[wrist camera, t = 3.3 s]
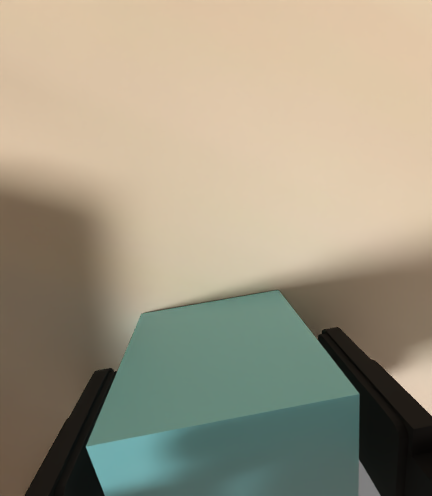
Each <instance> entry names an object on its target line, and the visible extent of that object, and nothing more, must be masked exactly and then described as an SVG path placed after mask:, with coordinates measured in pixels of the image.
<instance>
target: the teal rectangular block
mask: <svg viewBox="0 0 432 496" xmlns="http://www.w3.org/2000/svg"><path fill="white" fill-rule="evenodd" d="M359 396H360V394H359V393H358V391H357V390H356V389H355V387H354V386H353V385H352V384H351V382H350V381H349V380H348V378H347V377H346V376H345V375H344V373H343V372H342V371H341V369H340V368H339V367H338V366H337V364H336V363H335V362H334V360H333V359H332V358H331V357H330V355H329V354H328V353H327V351H326V350H325V349H324V348H323V346H322V345H321V344H320V342H319V341H318V340H317V339H316V337H315V336H314V335H313V333H312V332H311V331H310V330H309V328H308V327H307V326H306V325H305V323H304V322H303V321H302V319H301V318H300V317H299V316H298V314H297V313H296V312H295V310H294V309H293V308H292V307H291V305H290V304H289V303H288V301H287V300H286V299H285V298H284V296H283V295H282V294H281V292H280V291H279V290H275V291H269V292H263V293H258V294H252V295H246V296H240V297H235V298H229V299H223V300H217V301H212V302H206V303H200V304H194V305H189V306H183V307H177V308H171V309H166V310H160V311H154V312H148V313H143V314H141V316H140V318H139V321H138V323H137V326H136V328H135V330H134V333H133V335H132V337H131V340H130V342H129V345H128V347H127V349H126V352H125V354H124V357H123V359H122V361H121V364H120V366H119V369H118V371H117V373H116V376H115V378H114V380H113V383H112V385H111V388H110V390H109V392H108V395H107V397H106V400H105V402H104V404H103V407H102V409H101V412H100V414H99V416H98V419H97V421H96V423H95V426H94V428H93V431H92V433H91V435H90V438H89V440H88V443H87V445H86V449H87V451H88V454H89V456H90V459H91V461H92V464H93V466H94V469H95V472H96V474H97V477H98V479H99V482H100V484H101V487H102V490H103V492H104V495H105V496H358V488H359Z"/></svg>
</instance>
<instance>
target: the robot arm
mask: <svg viewBox="0 0 432 496" xmlns="http://www.w3.org/2000/svg"><path fill="white" fill-rule="evenodd" d="M318 341H319V342H320V344H321V345H322V346H323V348H324V349H325V350H326V351H327V353H328V354H329V355H330V357H331V358H332V359H333V360H334V362H335V363H336V364H337V366H338V367H339V368H340V369H341V371H342V372H343V373H344V375H345V376H346V377H347V378H348V380H349V381H350V382H351V384H352V385H353V386H354V387H355V389H356V390H357V391H358V393H359V394H360V396H359V460H360V462H361V463H362V465H363V467H364V468H365V470H366V472H367V474H368V475H369V477H370V479H371V480H372V482H373V484H374V485H375V487H376V489H377V490H378V492H379V494H380V495H381V496H432V416H431V415H430V414H429V413H428V412H427V411H426V410H425V409H424V408H423V407H422V406H421V405H420V404H419V403H418V402H417V401H416V400H415V399H414V398H413V397H412V396H411V395H410V394H409V393H408V392H407V391H406V390H405V389H404V388H403V387H402V386H401V385H400V384H399V383H398V382H397V381H396V380H395V379H394V378H393V377H392V376H391V375H389V374H388V373H387V372H386V371H385V370H384V369H383V368H382V367H381V366H380V365H379V364H378V363H377V362H376V361H374V360H372V359H370V358H369V357H368V356H367V355H366V354H365V353H364V352H363V351H362V350H361V349H360V348H359V347H358V346H357V345H356V344H355V343H354V342H353V341H352V340H351V339H350V338H349V337H348V336H347V335H346V334H345V333H344V332H343V331H342V330H341V329H340V328H338V327H335V328H330V329H324V330H323V331H322V334H319V336H318ZM116 373H117V371H115V372H114V370H113V369H112V368H109V369H103V370H98V371H95V372H94V373H93V375H92V377H91V379H90V380H89V382H88V384H87V386H86V388H85V390H84V391H83V393H82V395H81V397H80V399H79V401H78V402H77V404H76V406H75V408H74V410H73V412H72V413H71V415H70V417H69V418H68V419H67V420H66V422H65V423H64V425H63V427H62V429H61V430H60V432H59V434H58V436H57V438H56V439H55V441H54V443H53V445H52V447H51V449H50V450H49V452H48V454H47V456H46V458H45V459H44V461H43V463H42V465H41V467H40V468H39V470H38V472H37V474H36V476H35V478H34V479H33V481H32V483H31V485H30V487H29V488H28V490H27V492H26V494H25V496H105V495H104V492H103V490H102V487H101V484H100V482H99V479H98V477H97V474H96V472H95V469H94V466H93V464H92V461H91V459H90V456H89V454H88V451H87V449H86V445H87V443H88V440H89V438H90V435H91V433H92V431H93V428H94V426H95V423H96V421H97V419H98V416H99V414H100V412H101V409H102V407H103V404H104V402H105V400H106V397H107V395H108V392H109V390H110V388H111V385H112V383H113V380H114V378H115V376H116Z"/></svg>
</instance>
